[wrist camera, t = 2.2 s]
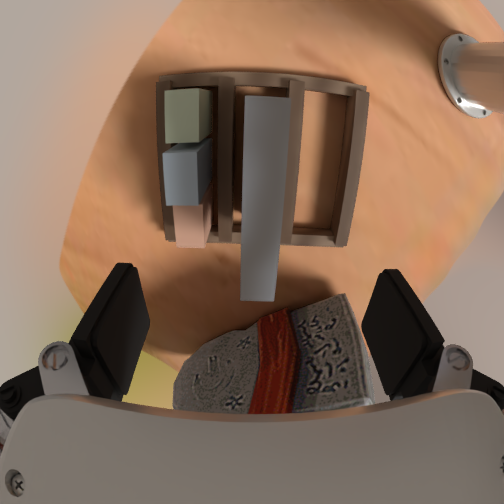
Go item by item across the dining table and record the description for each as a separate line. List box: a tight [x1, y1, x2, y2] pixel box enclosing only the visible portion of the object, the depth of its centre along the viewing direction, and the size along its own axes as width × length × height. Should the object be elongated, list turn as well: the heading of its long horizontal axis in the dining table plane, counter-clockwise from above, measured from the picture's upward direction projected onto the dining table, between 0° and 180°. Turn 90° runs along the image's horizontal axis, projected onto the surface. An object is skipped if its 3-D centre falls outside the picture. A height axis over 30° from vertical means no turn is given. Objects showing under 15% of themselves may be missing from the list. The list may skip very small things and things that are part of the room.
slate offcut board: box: [163, 138, 212, 206], centre depth 27 cm, size 3×5×9 cm, turn 178°
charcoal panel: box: [240, 96, 291, 301], centre depth 24 cm, size 2×14×16 cm, turn 178°
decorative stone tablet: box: [173, 293, 375, 414], centre depth 37 cm, size 19×6×30 cm
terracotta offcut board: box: [173, 183, 213, 248], centre depth 30 cm, size 3×5×7 cm, turn 178°
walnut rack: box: [156, 72, 369, 247], centre depth 29 cm, size 22×20×3 cm
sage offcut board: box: [165, 88, 213, 143], centre depth 24 cm, size 3×5×8 cm, turn 178°
